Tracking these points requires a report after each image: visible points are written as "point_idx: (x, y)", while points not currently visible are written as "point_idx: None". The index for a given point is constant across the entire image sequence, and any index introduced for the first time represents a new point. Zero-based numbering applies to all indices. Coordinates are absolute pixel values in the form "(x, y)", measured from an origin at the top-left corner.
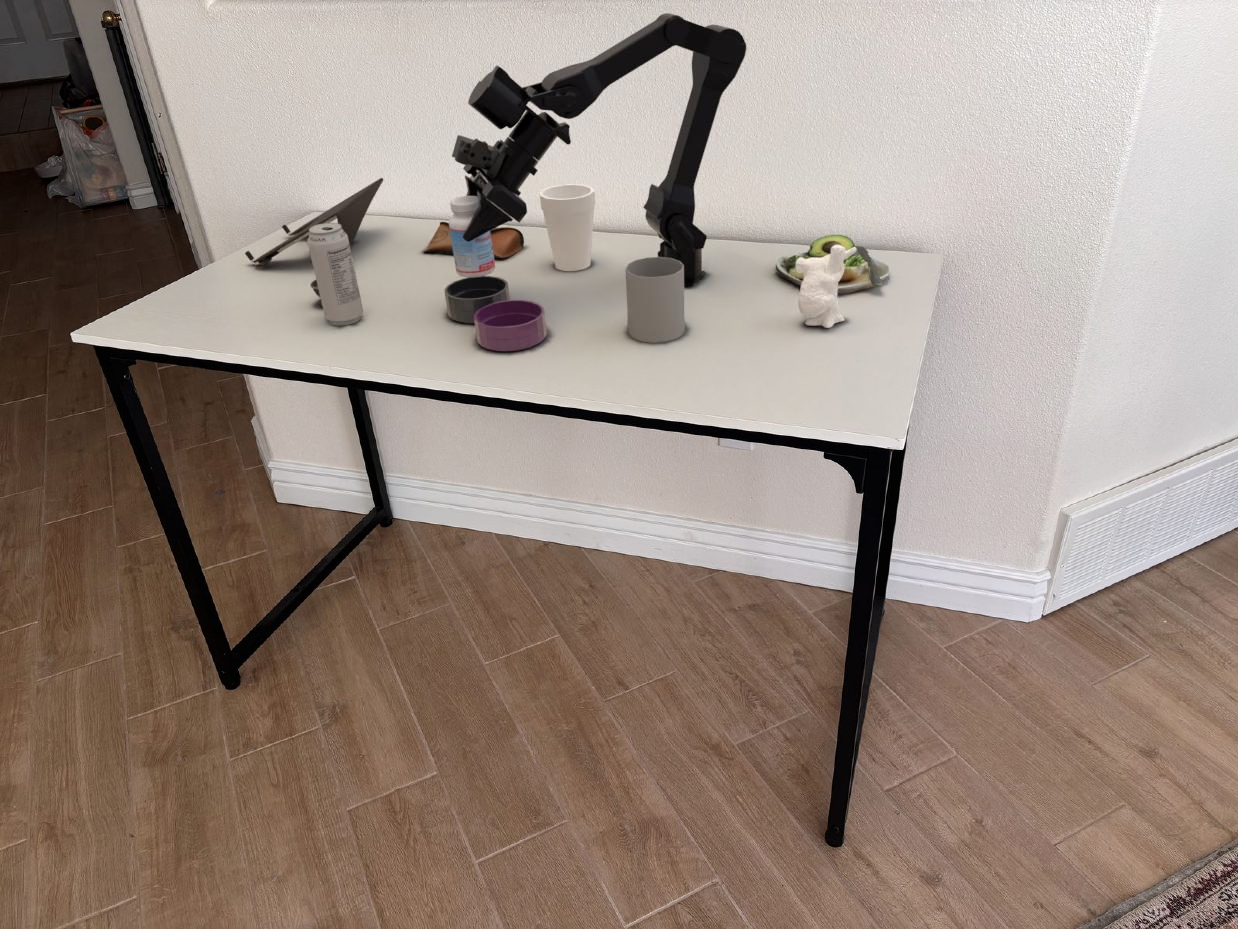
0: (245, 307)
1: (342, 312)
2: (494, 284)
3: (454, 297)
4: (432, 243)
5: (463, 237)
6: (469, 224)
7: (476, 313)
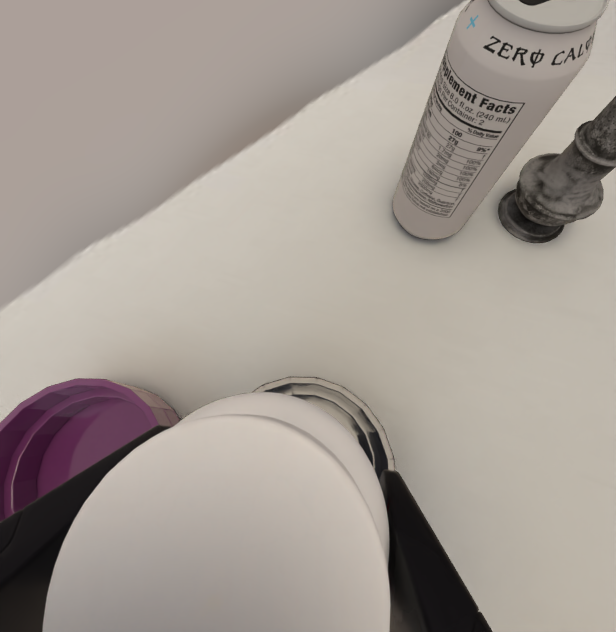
0: (574, 99)
1: (397, 186)
2: None
3: (265, 387)
4: None
5: (158, 426)
6: (99, 477)
7: (133, 398)
